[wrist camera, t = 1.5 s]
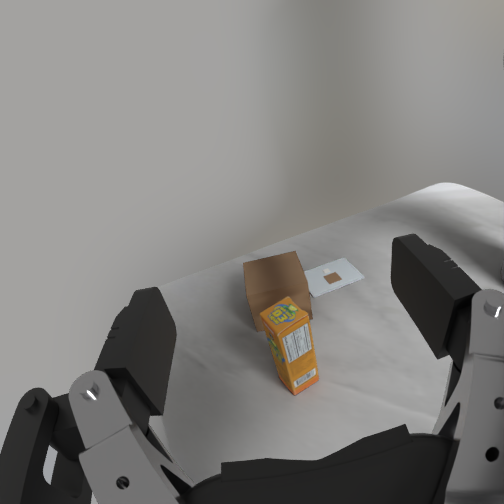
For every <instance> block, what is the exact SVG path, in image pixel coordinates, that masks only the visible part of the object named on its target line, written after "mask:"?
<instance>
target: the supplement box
mask: <svg viewBox="0 0 504 504" xmlns="http://www.w3.org/2000/svg"><path fill="white" fill-rule="evenodd" d="M260 317H261V320H262V323H263V326H264V329H265V332H266V336H267V339H268V342H269V346H270V349H271V352H272V355H273V358H274V361H275V364H276V368H277V371H278V374H279V378H280V379H281V381H282V382H283V383H284V384H285V385H286V387H287V388H288V389H289V390H290V391H291V392H292V393H293V395H297V394H298V393H300V392H301V391H303V390H304V389H306V388H307V387H309V386H310V385H312V384H313V383H315V382H316V381H318V380H319V375H318V369H317V362H316V356H315V350H314V344H313V338H312V332H311V326H310V321H309V316H308V313H307V312H306V311H304V310H301V309H300V308H299V307H298V306H297V305H296V304H295V303H294V302H293V301H292V299H290V297H288V296H287V297H285V298H284V299H283V300H281V301H279V302H278V303H276V304H274V305H272V306H271V307H269V308H267V309H266V310H264V311H263V312H261V313H260Z"/></svg>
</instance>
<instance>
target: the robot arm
mask: <svg viewBox="0 0 504 504" xmlns="http://www.w3.org/2000/svg"><path fill="white" fill-rule="evenodd" d="M501 277H502V280H503V282H504V262H503V266H502V270H501ZM391 284H392V288H393V290H394V293H395V294H396V296H397V297H398V299H399V300H400V302H401V303H402V305H403V306H404V308H405V309H406V311H407V312H408V314H409V315H410V317H411V318H412V320H413V321H414V323H415V324H416V326H417V327H418V329H419V331H420V332H421V334H422V335H423V337H424V338H425V340H426V342H427V343H428V345H429V347H430V348H431V350H432V351H433V353H434V355H435V356H436V358H437V360H438V359H440V358H443V357H445V356H447V355H450V356H451V358H452V362H451V364H450V369H449V374H448V379H447V384H446V389H445V393H444V398H443V402H442V406H441V410H440V414H439V417H438V419H437V422H436V424H435V426H434V429H433V431H432V434H426V433H413V434H409V432H408V429H407V427H406V424H404V425H401V426H398V427H395V428H392V429H389V430H386V431H383V432H380V433H377V434H374V435H371V436H368V437H364V438H362V439H360V440H358V441H356V442H354V443H353V444H351V445H349V446H347V447H345V448H343V449H341V450H339V451H337V452H335V453H333V454H331V455H329V456H327V457H324V458H322V459H320V460H313V461H311V460H286V459H271V458H264V459H256V460H247V461H236V462H223V463H221V474H217V475H215V476H212V477H210V478H207V479H205V480H203V481H201V482H200V483H198V484H195V483H194V482H193V481H192V480H191V479H190V478H189V477H188V476H187V475H186V474H185V473H184V472H183V470H182V469H181V468H180V467H179V466H178V464H177V463H176V462H175V460H174V459H173V458H172V456H171V455H170V454H169V452H168V451H167V450H166V448H165V447H164V445H163V444H162V442H161V441H160V440H159V438H158V437H157V435H156V434H155V432H154V431H153V429H152V428H151V426H150V425H149V424H148V423H149V417H150V416H157V415H158V416H160V415H163V411H164V405H165V399H166V393H167V387H168V381H169V375H170V370H171V364H172V359H173V353H174V348H175V343H176V336H177V333H176V326H175V323H174V320H173V318H172V316H171V314H170V312H169V309H168V307H167V305H166V303H165V301H164V299H163V296H162V294H161V292H160V290H159V289H158V288H157V287H152V288H146V289H141V290H136V291H135V292H134V294H133V296H132V298H131V301H130V303H129V305H128V306H127V307H124V309H123V310H122V311H121V312H120V313H119V314H118V316H116V318H115V321H114V322H113V325H112V327H111V330H110V332H109V334H108V336H107V338H108V339H107V340H106V341H105V344H104V346H103V349H102V351H101V354H100V356H99V358H98V361H97V363H96V366H95V369H94V371H89V372H86V373H85V374H82V375H81V376H80V377H78V378H77V380H75V381H74V383H73V384H72V386H71V388H70V391H69V393H68V394H64V395H61V396H58V397H54V398H52V397H51V396H50V395H49V394H48V393H47V392H46V391H45V390H44V389H42V388H34V389H32V390H29V391H28V392H27V393H26V394H25V395H24V396H23V397H22V398H21V400H20V402H19V403H18V406H17V408H16V411H15V414H14V416H13V419H12V421H11V424H10V427H9V430H8V432H7V435H6V438H5V441H4V444H3V447H2V450H1V454H0V504H91V497H92V492H93V494H94V496H95V498H96V500H97V502H98V504H504V294H503V293H502V292H499V291H497V290H492V289H485V290H482V289H481V288H480V287H479V286H478V285H477V284H476V283H475V282H474V281H473V280H472V279H471V278H470V277H469V276H468V275H467V274H466V273H465V272H464V271H463V270H462V269H461V268H460V267H458V265H457V264H456V263H455V262H454V261H453V260H452V261H451V258H450V257H449V256H447V255H446V254H445V253H444V252H443V251H442V250H440V249H438V248H436V247H434V246H432V245H430V244H429V245H427V244H426V243H425V242H424V241H423V240H422V239H420V238H419V237H418V236H417V235H416V234H409V235H405V236H400V237H396V238H394V239H393V242H392V262H391ZM49 445H50V446H51V447H52V448H54V449H55V450H56V451H58V453H57V457H56V461H55V466H54V470H53V475H52V480H51V485H50V484H48V483H47V482H46V480H45V478H44V476H43V466H44V462H45V458H46V454H47V450H48V447H49Z"/></svg>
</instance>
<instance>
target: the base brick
mask: <svg viewBox="0 0 504 504" xmlns="http://www.w3.org/2000/svg"><path fill="white" fill-rule="evenodd" d="M243 267H244V277H245V287H246V296H247V299H248V303H249V306H250V310H251V313H252V316H253V320H254V323H255V326H256V330H257V332H259V331H264V330H265V329H264V326H263V323H262V320H261V317H260V313H261V312H263V311H264V310H266V309H267V308H269V307H271V306H272V305H274V304H276V303H278V302H279V301H281V300H283V299H284V298H285V297H287V296H288V297H290V299H292V301H293V302H294V303H295V304H296V305H297V306H298V307H299V308H300V309H301V310H304V311H306V312H307V313H308V316H309V320H311V319H313V318H312V310H311V302H310V295H309V287H308V281H307V279H306V276H305V273H304V271H303V269H302V266H301V264H300V261H299V259H298V256H297V254H296V251H293V252H289V253H284V254H280V255H276V256H271V257H267V258H263V259H258V260H254V261H250V262H245V263H243Z"/></svg>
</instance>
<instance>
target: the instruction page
mask: <svg viewBox="0 0 504 504" xmlns="http://www.w3.org/2000/svg"><path fill="white" fill-rule="evenodd" d="M304 273H305V276H306V279H307V281H308V287H309V292H310V293H311V295H312V296H313V297H317V296H320V295H322V294H325V293H327V292H330V291H333V290H335V289H338V288H340V287H343V286H345V285H348V284H350V283H353V282H355V281H358V280H360V279H363V278H364V276H363V275H362V274H361V273H360V272H359V271H358V270H357V269H356V268H355V267H354V266H353V265H352V264H351V263H350V262H349V261H348V260H346V259H345V258H344V257H343V258H340V259H337V260H335V261H332V262H329V263H326V264H324V265H321V266H318V267H315V268H313V269H310V270H307V271H304Z"/></svg>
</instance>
